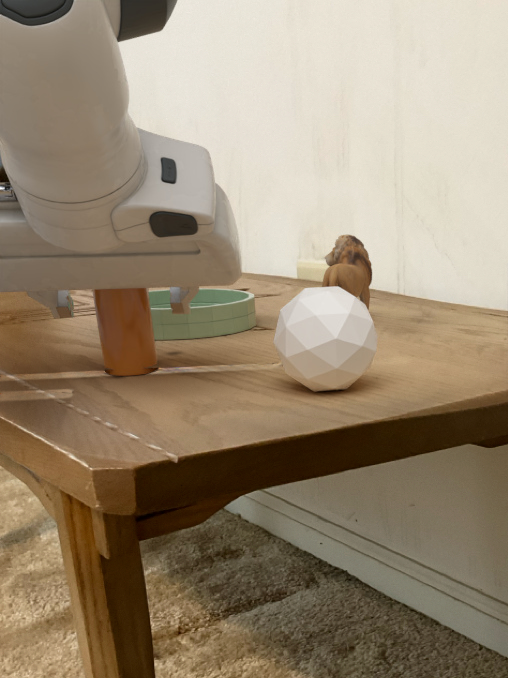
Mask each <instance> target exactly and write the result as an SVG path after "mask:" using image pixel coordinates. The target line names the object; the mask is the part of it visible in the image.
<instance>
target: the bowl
mask: <svg viewBox="0 0 508 678" xmlns="http://www.w3.org/2000/svg"><path fill="white" fill-rule="evenodd" d="M149 297H150V305H151V312H152V320H153V328H154V336H155V341H172V340H173V341H176V340H193V339H195V340H196V339H204V338H214V337H221V336H228V335H233V334H237V333H241V332H245V331H248V330H250V329H252V328H254V327H256V326H257V314H256V312H257V311H256V310H257V309H256V300H255V298H256V297H255V294H254V293H252V292H250V291H245V290H238V289H229V288H206V287H205V288H202V287H201V288H200V287H199V292H198V293H197V294H196V295H195V297H194V298H193V299H192V300H191V302H190V309H191V313H190V314H173V313H172V309H171V305H170V288H168V289H155V290H149Z"/></svg>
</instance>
